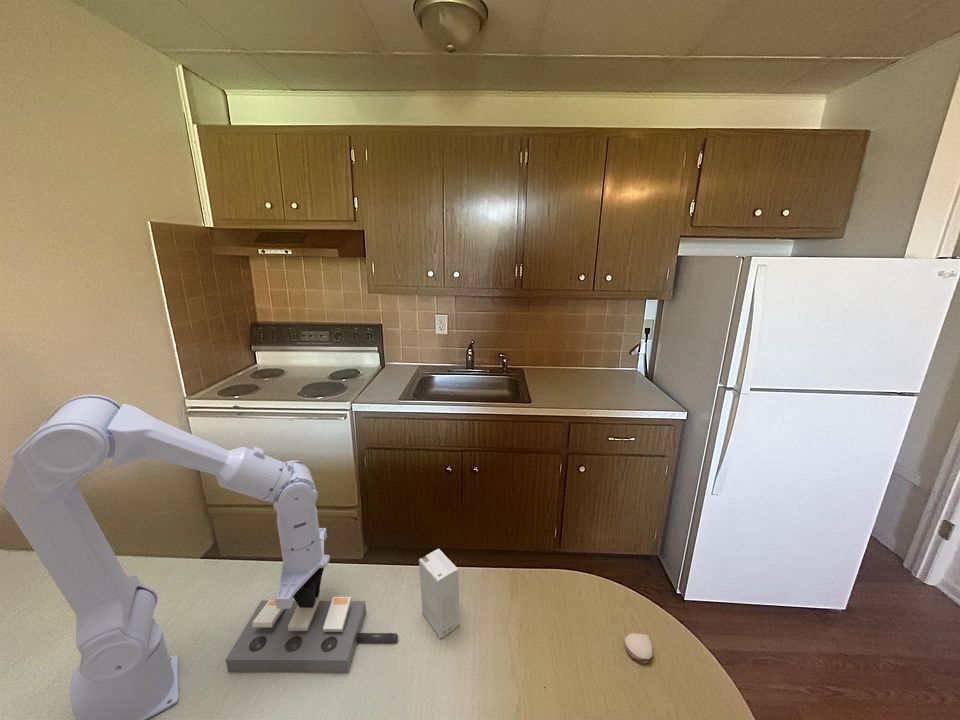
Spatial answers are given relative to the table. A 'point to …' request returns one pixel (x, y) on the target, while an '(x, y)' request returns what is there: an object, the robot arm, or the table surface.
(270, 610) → the white rectangular block
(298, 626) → the rocker
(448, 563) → the skincare box
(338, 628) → the rocker
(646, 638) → the white rounded oval piece
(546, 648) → the table surface
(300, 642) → the power strip
